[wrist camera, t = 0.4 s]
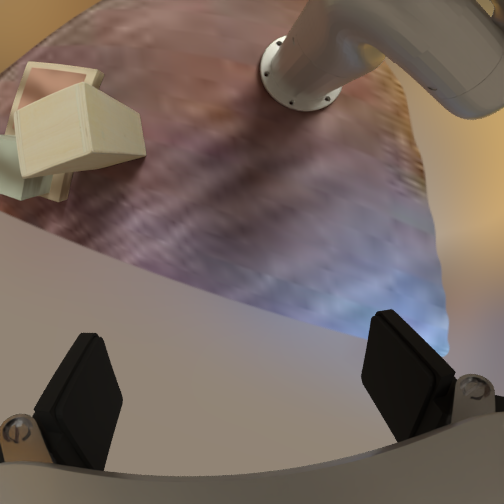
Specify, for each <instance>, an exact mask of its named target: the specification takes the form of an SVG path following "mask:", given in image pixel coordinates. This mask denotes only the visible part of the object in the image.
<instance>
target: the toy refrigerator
mask: <svg viewBox="0 0 504 504" xmlns="http://www.w3.org/2000/svg"><path fill="white" fill-rule="evenodd" d="M14 126H15V135H16V144H17V152H18V159H19V165H20V171H21V175H22V178H23V179H27V178H34V177H40V176H46V175H54V174H61V173H69V172H77V171H85V170H94V169H101V168H105V167H108V166H112V165H115V164H119V163H122V162H126V161H130V160H134V159H137V158H141V157H145V156H146V149H145V144H144V138H143V132H142V126H141V120H140V115H139V113H137V112H135V111H134V110H132V109H130V108H129V107H127V106H125V105H124V104H122V103H120V102H118V101H117V100H115V99H113V98H111V97H110V96H108V95H106V94H105V93H103V92H101V91H100V90H98V89H96V88H95V87H93V86H91V85H89V84H88V83H85V82H80V83H77V84H75V85H72V86H70V87H67V88H65V89H62V90H60V91H57V92H55V93H53V94H50V95H48V96H46V97H44V98H42V99H40V100H37V101H35V102H33V103H31V104H29V105H27V106H25V107H23V108H21V109H19V110H17V111H16V112H15V113H14Z"/></svg>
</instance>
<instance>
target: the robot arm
mask: <svg viewBox="0 0 504 504" xmlns="http://www.w3.org/2000/svg"><path fill="white" fill-rule="evenodd" d="M490 1H491V2H492V4H493V5H494V12H493V15H492V17H490V16H489V15H488V13H486V11H485V10H484V9H483V8H482V7H481V6H480V5H479V4H478V2H477V1H476V0H309V1H308V2H307V4H306V6H305V7H304V9H303V11H302V12H301V14H300V15H299V17H298V19H297V20H296V22H295V23H294V25H293V26H292V28H291V30H290V31H289V33H288V34H287V35H286V36H282V37H280V38H278V39H276V40H275V41H274V42H272V43H271V44H270V45H269V46H268V47H267V48H266V50H265V52H264V54H263V56H262V58H261V62H260V76H261V80H262V83H263V85H264V87H265V89H266V90H267V92H268V93H269V94H270V96H271V97H273V98H274V99H275V100H276V101H277V102H278V103H280V104H281V105H283V106H285V107H287V108H290V109H293V110H297V111H306V112H307V111H315V110H318V109H322V108H324V107H326V106H328V105H329V104H331V103H332V102H333V101H334V100H335V99H336V98H337V97H338V95H339V93H340V92H341V89H342V86H344V85H345V84H347V83H349V82H351V81H353V80H355V79H357V78H359V77H361V76H364V75H365V74H367V73H369V72H371V71H373V70H374V69H376V68H377V67H378V66H379V65H380V64H381V63H382V62H383V61H384V59H385V57H386V56H387V57H388V58H389V59H390V60H391V61H393V62H394V63H396V64H397V65H398V66H400V67H401V68H402V69H403V70H404V71H405V72H407V73H408V74H409V75H410V76H411V77H412V78H413V79H414V80H416V81H417V82H418V83H419V84H420V85H421V86H422V87H423V88H424V89H425V90H426V91H427V92H428V93H430V95H432V96H433V97H434V98H435V99H436V100H437V101H438V102H439V103H440V104H441V105H442V106H443V107H444V108H445V109H447V110H448V111H449V112H451V113H452V114H454V115H455V116H457V117H460V118H463V119H467V120H476V119H482V118H484V117H487V116H490V115H492V114H494V113H496V112H497V111H499V110H500V109H502V108H503V107H504V0H490ZM277 44H279V45H280V46H278V45H277ZM264 74H267V75H268V76H267V77H266V76H264ZM325 98H326V99H327V101H326V100H325ZM289 102H292V105H290V104H289ZM454 375H455V371H454V370H453V369H452V368H451V367H450V366H449V365H448V364H447V363H446V361H445V360H444V359H443V358H442V357H441V356H440V355H439V354H438V353H437V352H436V351H435V350H434V349H433V348H432V347H431V346H430V345H429V344H428V343H427V342H426V341H425V340H424V339H423V338H422V337H421V336H420V335H419V334H418V333H417V332H416V331H415V330H413V329H412V328H411V327H410V326H409V325H408V324H407V323H406V322H405V321H404V320H403V319H402V318H401V317H400V316H399V315H398V314H397V313H396V312H395V311H394V310H392V309H390V310H384V311H378V312H376V314H375V316H373V317H372V318H371V323H370V330H369V336H368V342H367V348H366V353H365V359H364V364H363V369H362V374H361V379H362V383H363V385H364V387H365V388H366V390H367V391H368V393H369V395H370V396H371V398H372V400H373V402H374V403H375V405H376V407H377V408H378V410H379V411H380V413H381V415H382V417H383V418H384V420H385V421H386V423H387V425H388V427H389V428H390V430H391V432H392V433H393V435H394V437H395V439H396V440H397V442H398V443H395V444H392V445H389V446H386V447H382V448H379V449H376V450H372V451H368V452H365V453H362V454H358V455H354V456H350V457H346V458H342V459H337V460H333V461H328V462H323V463H318V464H313V465H308V466H302V467H297V468H290V469H283V470H277V471H268V472H260V473H250V474H239V475H222V476H153V475H138V474H127V473H117V472H108V471H104V468H105V464H106V460H107V456H108V452H109V448H110V445H111V441H112V438H113V434H114V431H115V427H116V424H117V420H118V417H119V413H120V410H121V407H122V401H123V398H122V394H121V391H120V388H119V386H118V383H117V380H116V377H115V374H114V371H113V369H112V365H111V363H110V359H109V356H108V353H107V350H106V346H105V343H104V340H103V338H102V337H99V336H98V334H96V333H81V334H80V335H79V336H78V338H77V339H76V341H75V342H74V344H73V345H72V347H71V348H70V350H69V351H68V353H67V355H66V356H65V358H64V359H63V361H62V363H61V364H60V366H59V367H58V369H57V370H56V372H55V374H54V375H53V377H52V379H51V380H50V382H49V384H48V385H47V387H46V389H45V390H44V392H43V394H42V395H41V397H40V399H39V401H38V402H37V404H36V406H35V408H34V411H35V413H34V415H33V417H31V416H30V415H27V414H16V415H13V416H11V417H9V418H7V419H6V420H5V421H4V422H3V423H2V425H1V426H0V504H504V397H502V396H497V395H495V390H494V387H493V385H492V383H491V382H490V381H489V380H487V379H486V378H485V377H483V376H480V375H476V374H467V375H463V376H461V377H460V378H459V379H458V380H457V379H456V378H455V377H454Z"/></svg>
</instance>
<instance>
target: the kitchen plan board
mask: <svg viewBox="0 0 504 504" xmlns="http://www.w3.org/2000/svg"><path fill="white" fill-rule="evenodd" d="M104 75H105V74H103V73H102V72H100V71H99V70H96V69H90V68H83V67H76V66H69V65H61V64H52V63H41V62H29V61H28V64H27V66H26V69H25V71H24V74H23V77H22V79H21V82H20V85H19V88H18V91H17V94H16V97H15V100H14V103H13V107H12V110H11V113H10V117H9V120H8V124H7V128H6V132H5V135H0V194H3V195H6V196H9V197H12V198H15V199H18V200H20V201H21V200H25V199H28V198H32V197H35V196H41V197H44V198H47V199H50V200H53V201H56V202H61V201H64V200H67V198H68V193H69V189H70V184H71V180H72V175H73V172H69V173H61V174H54V175H46V176H40V177H34V178H27V179H23V178H22V175H21V171H20V165H19V159H18V152H17V144H16V135H15V126H14V113H15V112H16V111H17V110H19V109H21V108H23V107H25V106H27V105H29V104H31V103H33V102H35V101H37V100H40V99H42V98H44V97H46V96H48V95H50V94H53V93H55V92H57V91H60V90H62V89H65V88H67V87H70V86H72V85H75V84H77V83H80V82H85V83H88V84H89V85H91V86H93V87H95V88H96V89H98V90H99V87H100V85H101V82H102V80H103V77H104Z"/></svg>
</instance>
